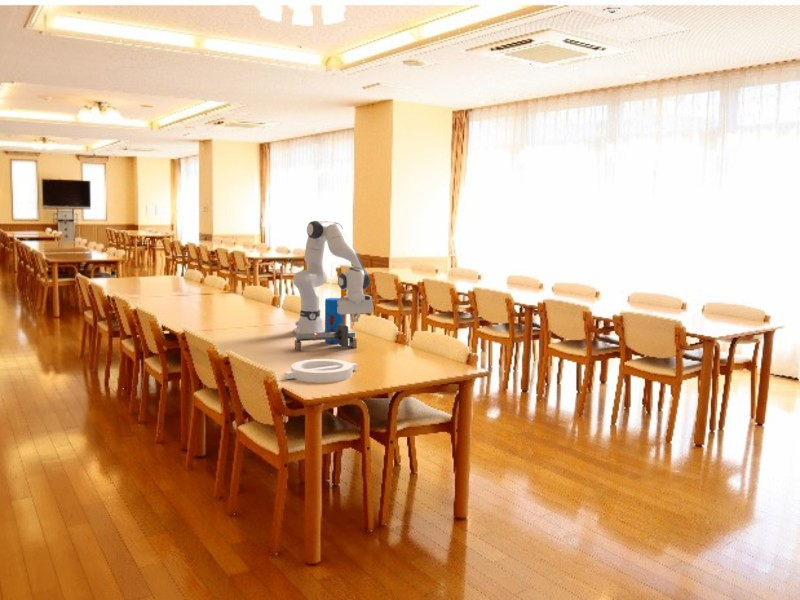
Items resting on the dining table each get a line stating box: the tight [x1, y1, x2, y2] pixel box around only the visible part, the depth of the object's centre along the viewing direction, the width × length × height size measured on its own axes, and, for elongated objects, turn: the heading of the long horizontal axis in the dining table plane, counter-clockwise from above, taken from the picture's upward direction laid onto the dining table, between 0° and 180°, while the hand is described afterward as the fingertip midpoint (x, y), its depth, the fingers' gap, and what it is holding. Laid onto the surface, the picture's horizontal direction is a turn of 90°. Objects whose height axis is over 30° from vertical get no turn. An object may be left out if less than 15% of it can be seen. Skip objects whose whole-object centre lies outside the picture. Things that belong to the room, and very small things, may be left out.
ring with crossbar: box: [284, 358, 359, 383], centre depth 306 cm, size 28×28×5 cm
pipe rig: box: [294, 330, 358, 352], centre depth 365 cm, size 7×33×9 cm, turn 112°
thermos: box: [324, 297, 345, 345], centre depth 382 cm, size 11×11×25 cm
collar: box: [337, 323, 349, 348], centre depth 368 cm, size 11×3×11 cm, turn 22°
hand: (355, 321), depth 369 cm, fingers closed
